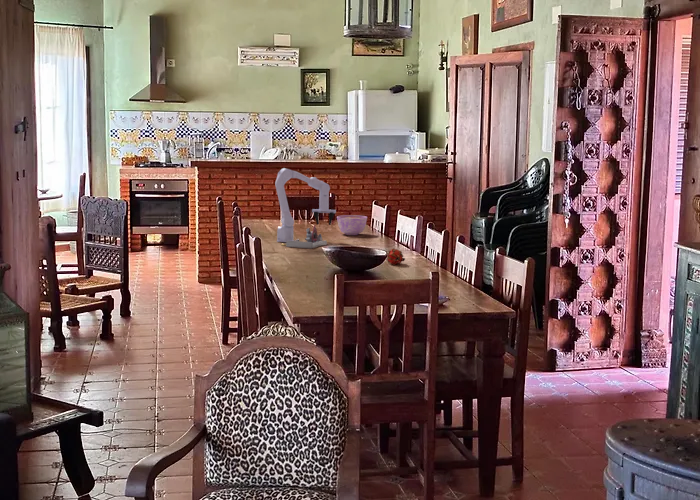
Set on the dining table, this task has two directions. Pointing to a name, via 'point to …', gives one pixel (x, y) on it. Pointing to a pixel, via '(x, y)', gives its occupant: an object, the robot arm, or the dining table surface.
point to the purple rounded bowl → (351, 224)
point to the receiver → (304, 244)
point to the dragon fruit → (395, 257)
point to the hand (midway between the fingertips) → (323, 224)
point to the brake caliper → (313, 235)
